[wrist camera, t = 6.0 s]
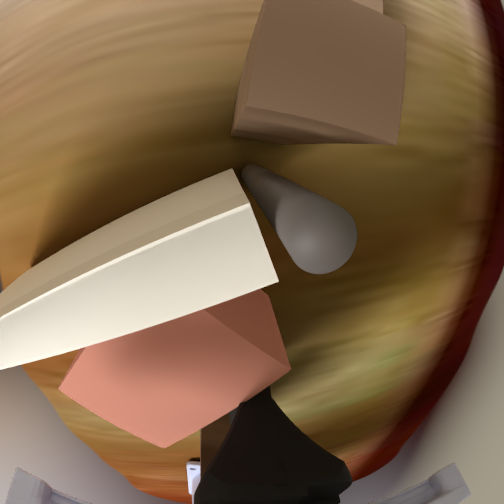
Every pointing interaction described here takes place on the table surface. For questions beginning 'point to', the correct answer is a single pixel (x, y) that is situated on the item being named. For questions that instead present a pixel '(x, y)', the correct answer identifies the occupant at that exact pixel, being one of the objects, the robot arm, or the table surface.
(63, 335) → the door
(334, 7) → the frame
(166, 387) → the block
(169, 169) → the table surface
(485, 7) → the table surface
